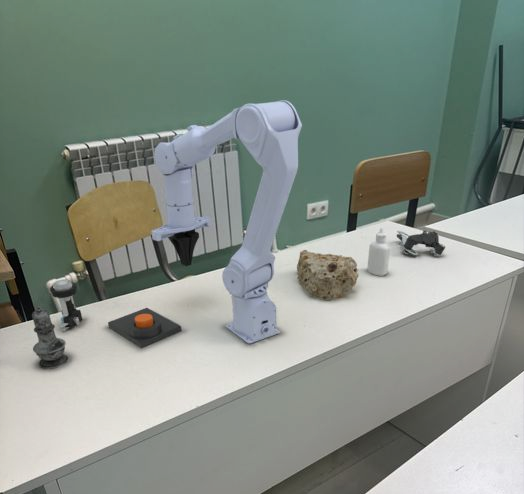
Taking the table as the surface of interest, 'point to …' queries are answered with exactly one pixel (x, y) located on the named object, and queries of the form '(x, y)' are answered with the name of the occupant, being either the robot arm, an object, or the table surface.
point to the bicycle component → (420, 242)
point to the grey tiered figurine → (48, 341)
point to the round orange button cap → (144, 321)
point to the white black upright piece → (67, 303)
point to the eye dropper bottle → (378, 255)
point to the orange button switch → (144, 335)
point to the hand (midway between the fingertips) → (186, 264)
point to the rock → (326, 274)
